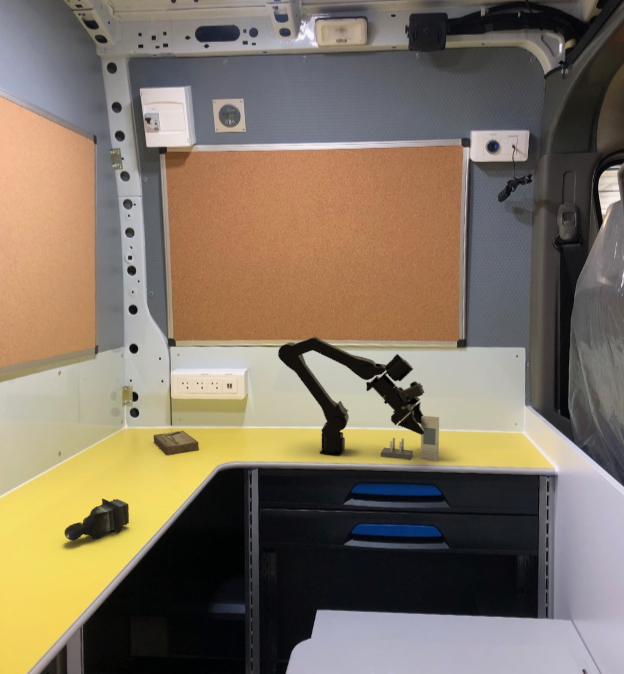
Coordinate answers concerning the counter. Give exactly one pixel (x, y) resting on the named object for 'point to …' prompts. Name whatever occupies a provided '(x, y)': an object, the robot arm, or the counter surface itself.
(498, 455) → the counter surface
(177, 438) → the box
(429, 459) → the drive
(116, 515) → the dark statue fragment
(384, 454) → the dark grey pegged block
